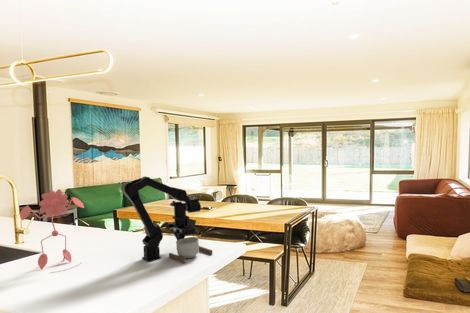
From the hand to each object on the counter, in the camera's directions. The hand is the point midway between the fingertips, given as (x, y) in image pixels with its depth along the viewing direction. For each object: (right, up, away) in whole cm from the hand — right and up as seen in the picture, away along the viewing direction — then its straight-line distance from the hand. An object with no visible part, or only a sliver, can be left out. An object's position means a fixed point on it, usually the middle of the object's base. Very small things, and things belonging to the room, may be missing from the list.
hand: (181, 245), depth 171 cm
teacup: (+5, -4, -5) cm, 8 cm away
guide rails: (+6, -4, -6) cm, 9 cm away
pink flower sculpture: (-53, -6, -16) cm, 56 cm away
